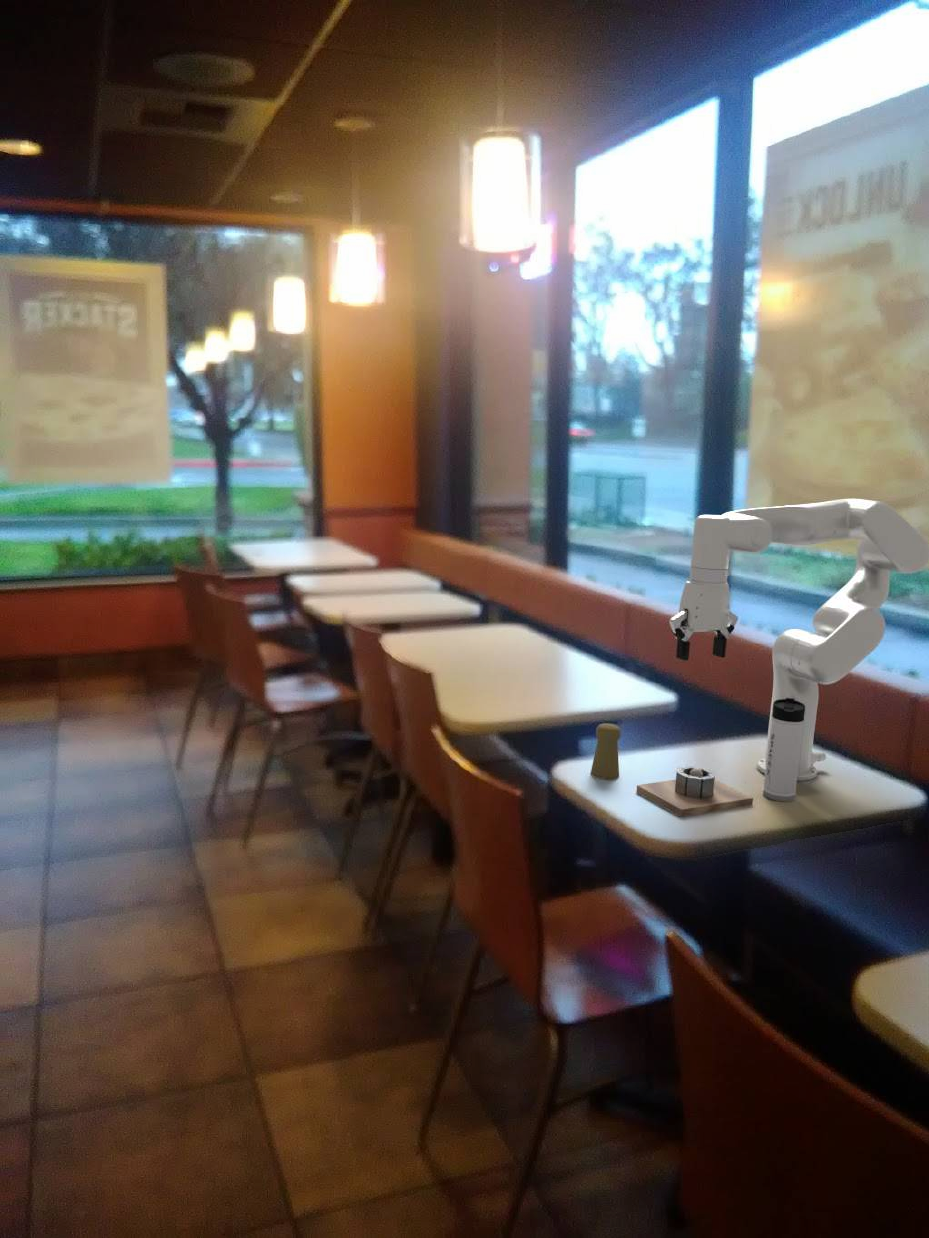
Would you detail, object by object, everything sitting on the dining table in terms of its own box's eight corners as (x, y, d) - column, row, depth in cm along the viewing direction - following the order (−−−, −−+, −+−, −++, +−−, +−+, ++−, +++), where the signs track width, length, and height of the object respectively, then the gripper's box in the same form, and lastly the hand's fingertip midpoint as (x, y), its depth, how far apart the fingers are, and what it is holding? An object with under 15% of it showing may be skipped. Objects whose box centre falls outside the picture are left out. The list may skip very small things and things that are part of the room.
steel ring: (696, 783, 210) (697, 764, 209) (720, 795, 203) (722, 776, 203) (667, 787, 206) (669, 768, 205) (692, 800, 200) (694, 780, 199)
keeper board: (705, 781, 215) (708, 753, 214) (752, 804, 203) (755, 774, 202) (636, 792, 207) (639, 762, 206) (681, 817, 195) (684, 785, 194)
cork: (618, 781, 213) (622, 730, 211) (589, 777, 214) (593, 727, 212) (620, 771, 219) (624, 722, 217) (591, 768, 220) (595, 719, 218)
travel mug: (795, 793, 211) (806, 699, 207) (794, 803, 205) (805, 707, 201) (763, 788, 213) (774, 695, 209) (762, 798, 207) (772, 703, 203)
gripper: (728, 572, 216) (720, 651, 219) (663, 574, 208) (655, 656, 211) (753, 577, 210) (744, 659, 213) (687, 580, 202) (679, 664, 205)
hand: (700, 657), depth 212 cm, fingers open, 9 cm apart
